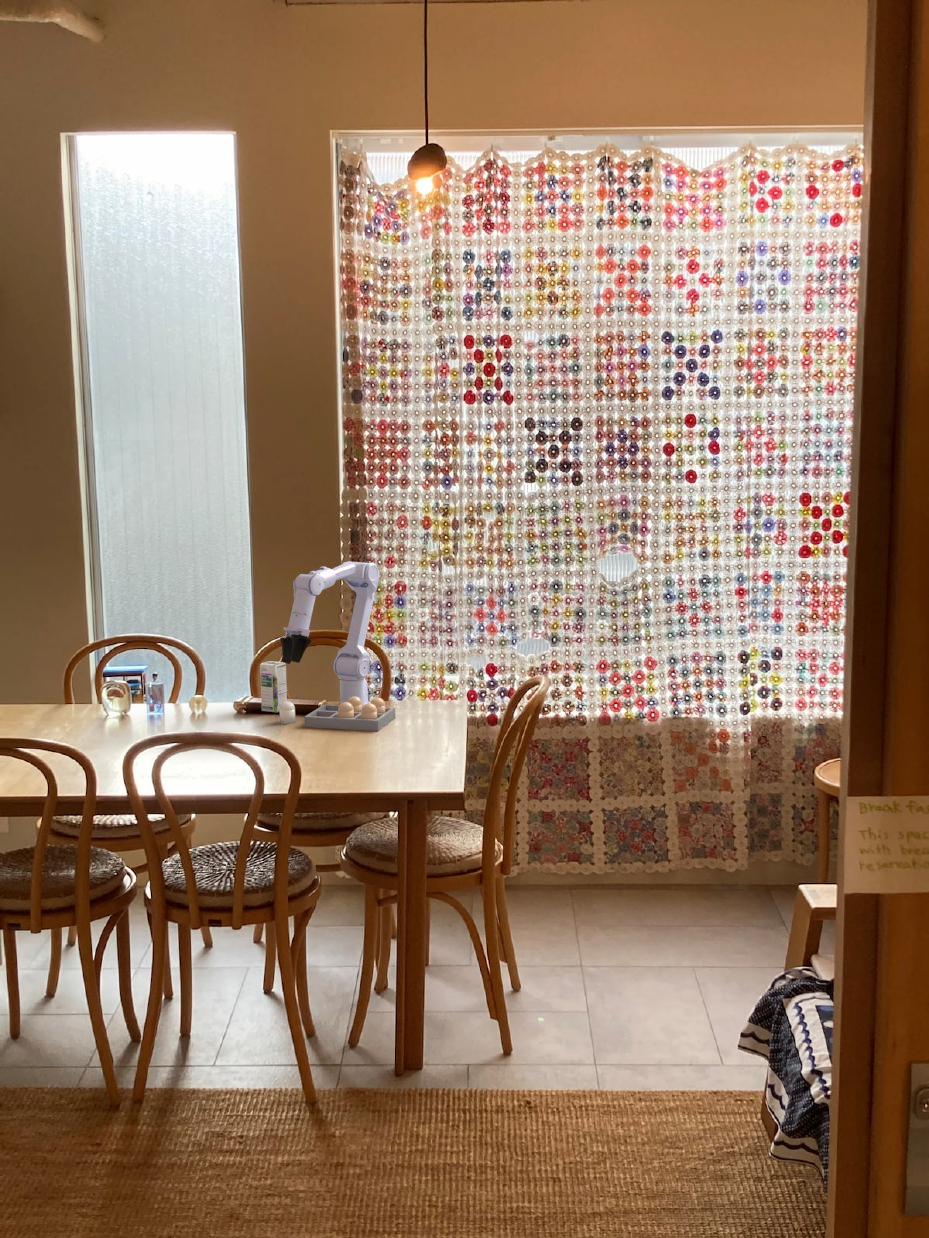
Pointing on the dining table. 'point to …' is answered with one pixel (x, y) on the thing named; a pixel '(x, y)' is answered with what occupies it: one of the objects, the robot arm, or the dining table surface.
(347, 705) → the egg carton
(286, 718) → the white egg
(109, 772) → the dining table surface
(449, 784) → the dining table surface
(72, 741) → the dining table surface
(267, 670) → the syrup box
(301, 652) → the robot arm
